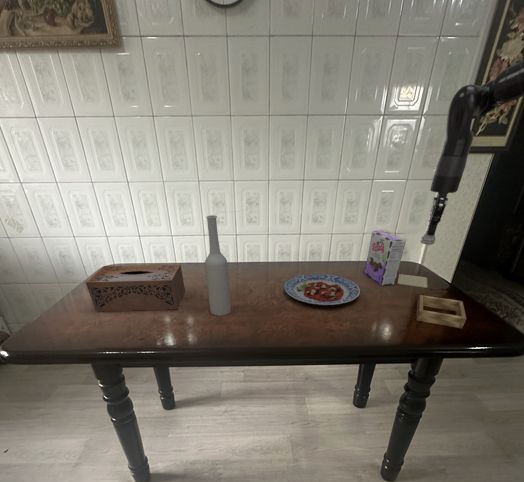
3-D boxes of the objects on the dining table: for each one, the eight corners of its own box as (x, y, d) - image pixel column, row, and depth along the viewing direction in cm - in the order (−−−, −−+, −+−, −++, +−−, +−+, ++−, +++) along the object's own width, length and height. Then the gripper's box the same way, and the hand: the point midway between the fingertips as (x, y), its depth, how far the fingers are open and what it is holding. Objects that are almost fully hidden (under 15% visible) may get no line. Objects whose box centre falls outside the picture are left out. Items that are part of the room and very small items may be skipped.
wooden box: (458, 310, 94) (462, 301, 92) (462, 328, 85) (466, 318, 83) (417, 303, 98) (419, 294, 96) (416, 320, 89) (419, 310, 87)
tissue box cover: (96, 312, 96) (85, 282, 90) (112, 293, 107) (104, 265, 102) (177, 309, 96) (171, 280, 91) (185, 291, 108) (180, 264, 102)
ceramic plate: (370, 289, 107) (371, 281, 106) (339, 318, 91) (340, 309, 89) (307, 274, 120) (308, 267, 119) (270, 297, 103) (270, 288, 102)
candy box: (363, 272, 121) (371, 230, 112) (377, 271, 122) (386, 229, 113) (380, 286, 110) (391, 240, 101) (395, 284, 111) (407, 239, 102)
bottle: (230, 305, 99) (223, 213, 83) (232, 314, 93) (224, 218, 77) (210, 306, 98) (198, 214, 82) (210, 316, 92) (198, 219, 76)
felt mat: (426, 278, 116) (427, 277, 115) (426, 288, 108) (427, 287, 108) (399, 274, 119) (399, 273, 119) (397, 284, 112) (397, 283, 111)
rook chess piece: (432, 245, 99) (441, 219, 94) (418, 243, 101) (425, 218, 96) (435, 242, 102) (443, 217, 97) (421, 240, 104) (429, 215, 99)
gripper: (465, 176, 83) (444, 240, 93) (460, 172, 94) (441, 229, 104) (435, 175, 86) (417, 237, 96) (433, 171, 96) (418, 227, 106)
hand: (430, 233), depth 100 cm, fingers closed on rook chess piece, 3 cm apart
